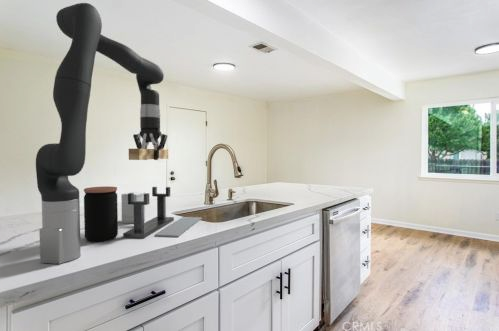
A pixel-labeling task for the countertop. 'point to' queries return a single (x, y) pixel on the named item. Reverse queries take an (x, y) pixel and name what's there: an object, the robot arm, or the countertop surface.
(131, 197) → the rack
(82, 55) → the robot arm
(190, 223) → the mat
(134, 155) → the rail
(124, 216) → the supplement box
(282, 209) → the countertop surface
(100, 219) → the coffee jar
